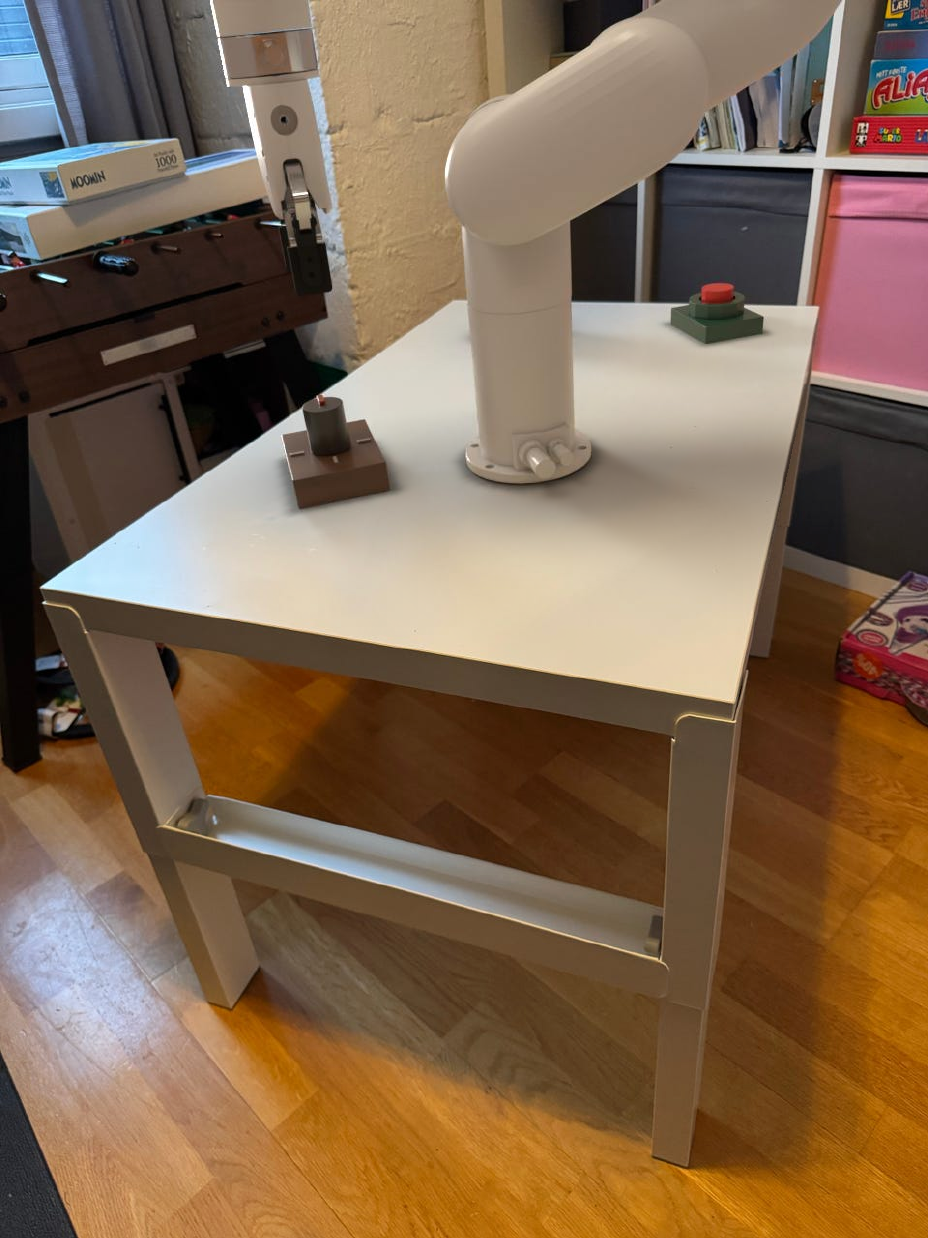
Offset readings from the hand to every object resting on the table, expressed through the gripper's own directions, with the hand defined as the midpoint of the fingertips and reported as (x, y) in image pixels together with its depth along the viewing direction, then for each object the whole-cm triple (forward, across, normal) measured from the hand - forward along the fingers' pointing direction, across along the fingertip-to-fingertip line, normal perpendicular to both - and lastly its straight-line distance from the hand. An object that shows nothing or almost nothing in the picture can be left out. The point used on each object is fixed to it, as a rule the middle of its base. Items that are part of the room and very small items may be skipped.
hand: (308, 280), depth 81 cm
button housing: (+18, +21, -53) cm, 60 cm away
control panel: (+19, -2, +1) cm, 19 cm away
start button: (+14, +21, -53) cm, 59 cm away
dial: (+16, -1, +1) cm, 16 cm away
